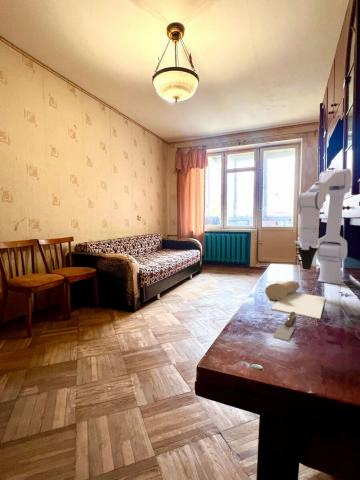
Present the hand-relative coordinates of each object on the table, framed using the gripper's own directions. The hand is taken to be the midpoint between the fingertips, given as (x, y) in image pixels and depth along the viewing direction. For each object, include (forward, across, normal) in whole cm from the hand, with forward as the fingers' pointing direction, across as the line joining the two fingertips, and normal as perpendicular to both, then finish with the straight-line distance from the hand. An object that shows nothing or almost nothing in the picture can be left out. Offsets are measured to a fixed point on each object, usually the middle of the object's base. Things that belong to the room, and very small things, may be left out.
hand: (306, 269), depth 83 cm
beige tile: (+9, -8, -8) cm, 14 cm away
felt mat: (+8, +12, 0) cm, 15 cm away
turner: (+8, +32, 0) cm, 33 cm away
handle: (+6, -1, -3) cm, 7 cm away
